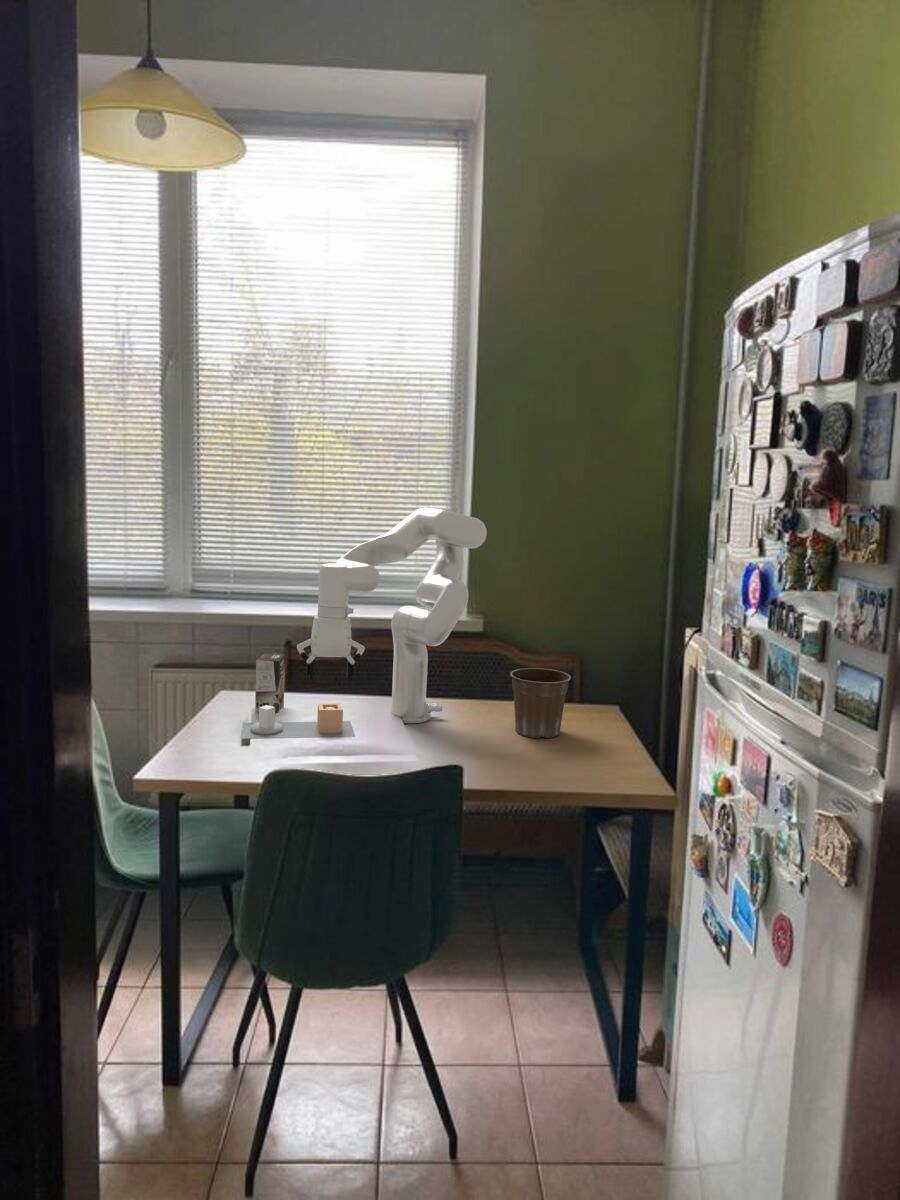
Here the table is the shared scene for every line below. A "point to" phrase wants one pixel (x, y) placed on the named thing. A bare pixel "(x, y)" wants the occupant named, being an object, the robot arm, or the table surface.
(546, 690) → the plant pot
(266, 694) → the coffee box
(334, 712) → the collar
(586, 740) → the table surface
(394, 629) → the robot arm
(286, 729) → the hub board
